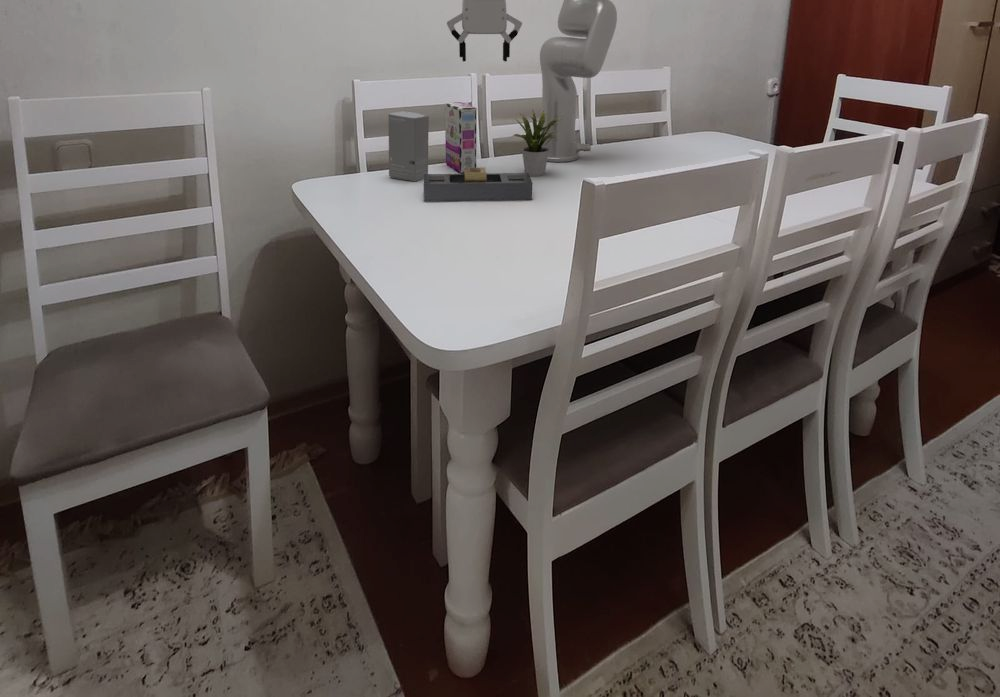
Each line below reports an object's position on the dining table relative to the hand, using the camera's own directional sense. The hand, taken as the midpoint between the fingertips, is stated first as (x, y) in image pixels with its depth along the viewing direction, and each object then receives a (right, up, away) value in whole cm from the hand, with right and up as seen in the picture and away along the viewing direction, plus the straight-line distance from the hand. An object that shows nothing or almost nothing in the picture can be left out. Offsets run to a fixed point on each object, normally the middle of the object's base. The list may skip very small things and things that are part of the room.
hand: (484, 60), depth 167 cm
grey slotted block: (-1, -31, +1) cm, 31 cm away
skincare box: (-19, -24, +16) cm, 34 cm away
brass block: (-2, -32, +1) cm, 32 cm away
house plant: (+13, -22, +19) cm, 32 cm away
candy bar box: (-7, -19, +24) cm, 32 cm away
